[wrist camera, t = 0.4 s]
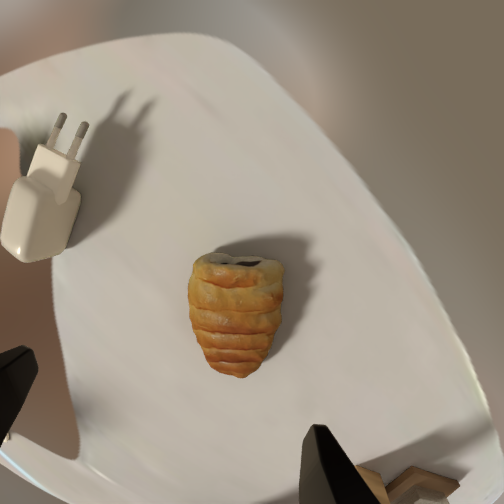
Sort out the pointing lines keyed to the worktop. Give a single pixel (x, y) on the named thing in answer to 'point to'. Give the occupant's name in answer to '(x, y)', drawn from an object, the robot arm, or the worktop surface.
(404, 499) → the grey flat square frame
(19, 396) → the robot arm
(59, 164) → the power adapter
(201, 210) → the worktop surface
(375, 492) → the rail post
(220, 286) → the pastry
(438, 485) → the plate
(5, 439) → the candle
